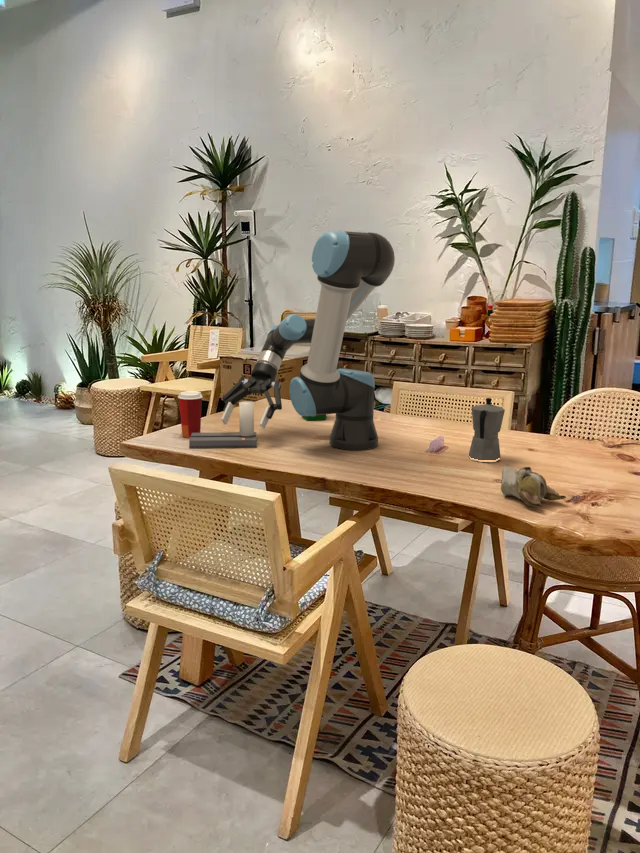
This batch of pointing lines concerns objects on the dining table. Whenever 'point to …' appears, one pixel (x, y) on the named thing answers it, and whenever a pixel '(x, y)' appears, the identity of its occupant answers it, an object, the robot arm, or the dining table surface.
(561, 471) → the dining table surface
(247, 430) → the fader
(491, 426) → the coffeepot
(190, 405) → the paper cup
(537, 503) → the ceramic sculpture
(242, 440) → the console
